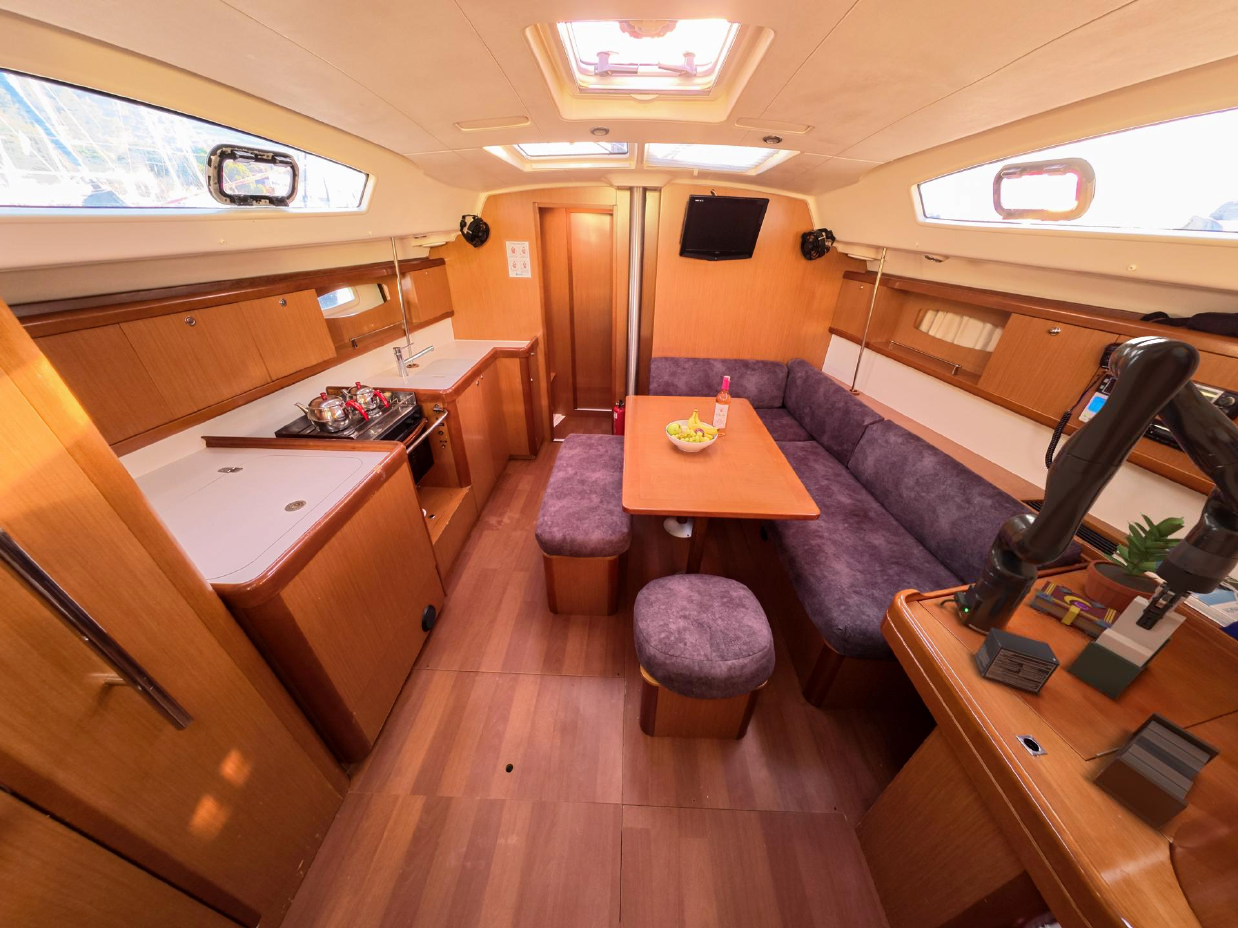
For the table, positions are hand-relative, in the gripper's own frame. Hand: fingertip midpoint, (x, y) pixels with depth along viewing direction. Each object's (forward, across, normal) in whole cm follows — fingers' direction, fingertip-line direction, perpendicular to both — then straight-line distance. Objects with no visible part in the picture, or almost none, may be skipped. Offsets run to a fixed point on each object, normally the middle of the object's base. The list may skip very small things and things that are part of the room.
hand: (1145, 623), depth 90 cm
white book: (+7, 0, 0) cm, 7 cm away
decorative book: (+15, -14, -11) cm, 24 cm away
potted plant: (+15, -34, -9) cm, 38 cm away
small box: (+15, +25, -10) cm, 31 cm away
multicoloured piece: (+15, 0, 0) cm, 15 cm away
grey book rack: (+15, +27, +12) cm, 34 cm away
